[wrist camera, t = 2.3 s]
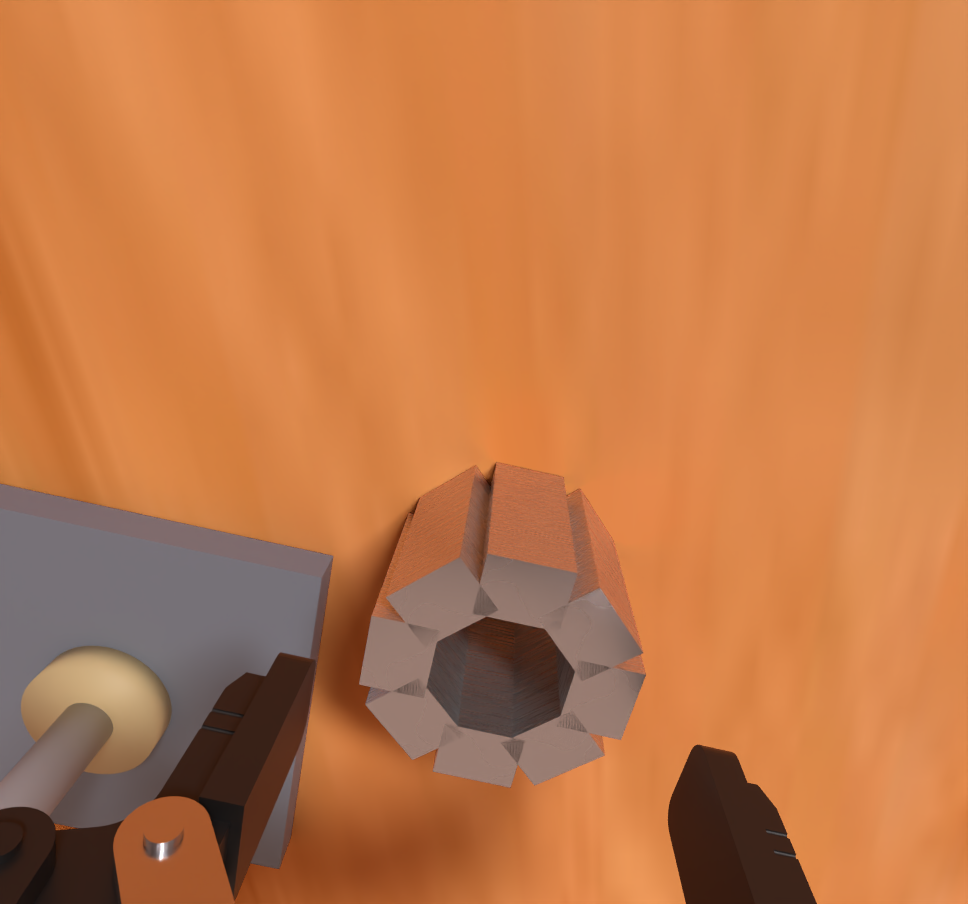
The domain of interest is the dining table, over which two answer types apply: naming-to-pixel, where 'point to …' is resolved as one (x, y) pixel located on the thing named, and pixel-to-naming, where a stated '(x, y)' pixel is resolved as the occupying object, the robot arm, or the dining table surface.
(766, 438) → the dining table surface
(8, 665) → the shaft stand
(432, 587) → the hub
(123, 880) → the robot arm
